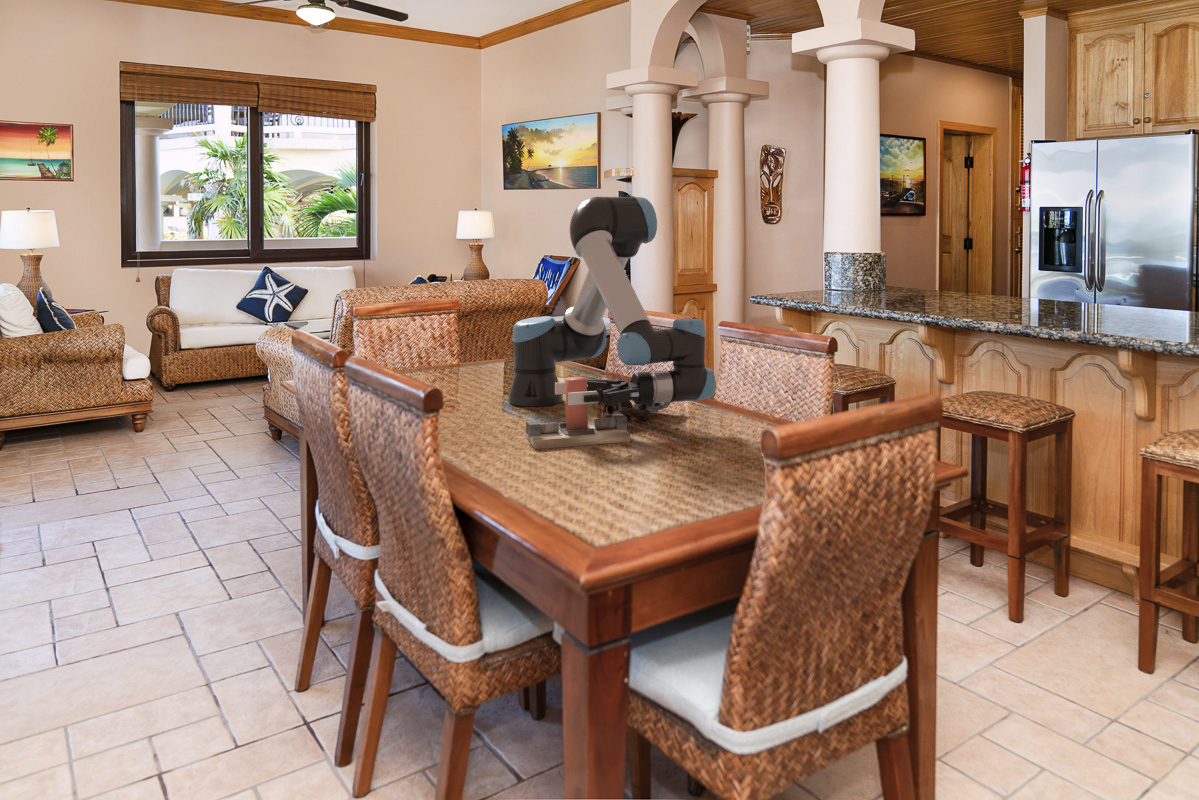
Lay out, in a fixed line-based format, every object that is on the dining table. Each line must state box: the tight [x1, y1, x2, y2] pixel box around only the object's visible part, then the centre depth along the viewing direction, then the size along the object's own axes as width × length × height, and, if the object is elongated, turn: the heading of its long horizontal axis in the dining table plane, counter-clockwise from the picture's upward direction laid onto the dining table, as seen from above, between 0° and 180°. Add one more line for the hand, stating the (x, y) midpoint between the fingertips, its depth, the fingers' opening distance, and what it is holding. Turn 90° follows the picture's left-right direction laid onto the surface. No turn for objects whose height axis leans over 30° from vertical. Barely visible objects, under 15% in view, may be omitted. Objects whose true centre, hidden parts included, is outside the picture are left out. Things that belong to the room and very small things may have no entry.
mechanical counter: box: [602, 400, 652, 424], centre depth 224 cm, size 7×13×10 cm
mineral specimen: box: [632, 402, 673, 414], centre depth 233 cm, size 11×9×12 cm
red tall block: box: [564, 376, 589, 431], centre depth 207 cm, size 5×5×12 cm
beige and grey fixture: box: [524, 414, 631, 450], centre depth 208 cm, size 12×23×5 cm, turn 106°
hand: (561, 393), depth 206 cm, fingers open, 13 cm apart
